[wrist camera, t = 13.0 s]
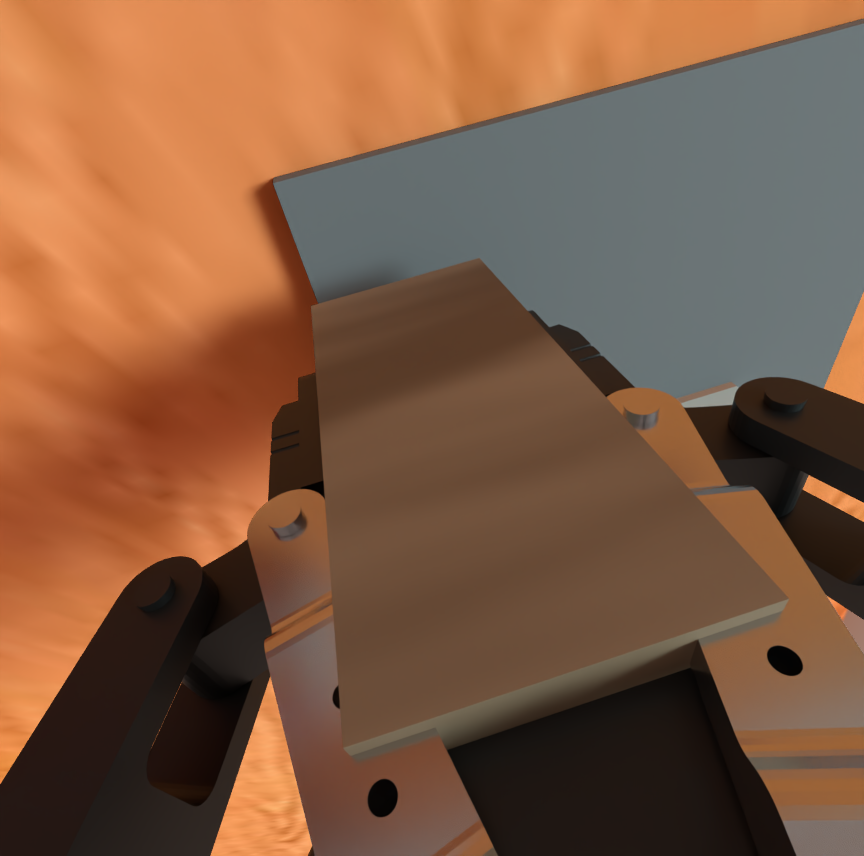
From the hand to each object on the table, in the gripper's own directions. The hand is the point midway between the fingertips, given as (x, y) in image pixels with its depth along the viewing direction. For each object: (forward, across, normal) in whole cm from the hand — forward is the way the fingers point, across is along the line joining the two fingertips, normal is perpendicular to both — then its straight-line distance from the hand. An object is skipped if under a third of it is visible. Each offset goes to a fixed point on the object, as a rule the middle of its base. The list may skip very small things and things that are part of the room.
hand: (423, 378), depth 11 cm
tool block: (+1, 0, 0) cm, 1 cm away
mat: (+4, -7, +7) cm, 11 cm away
